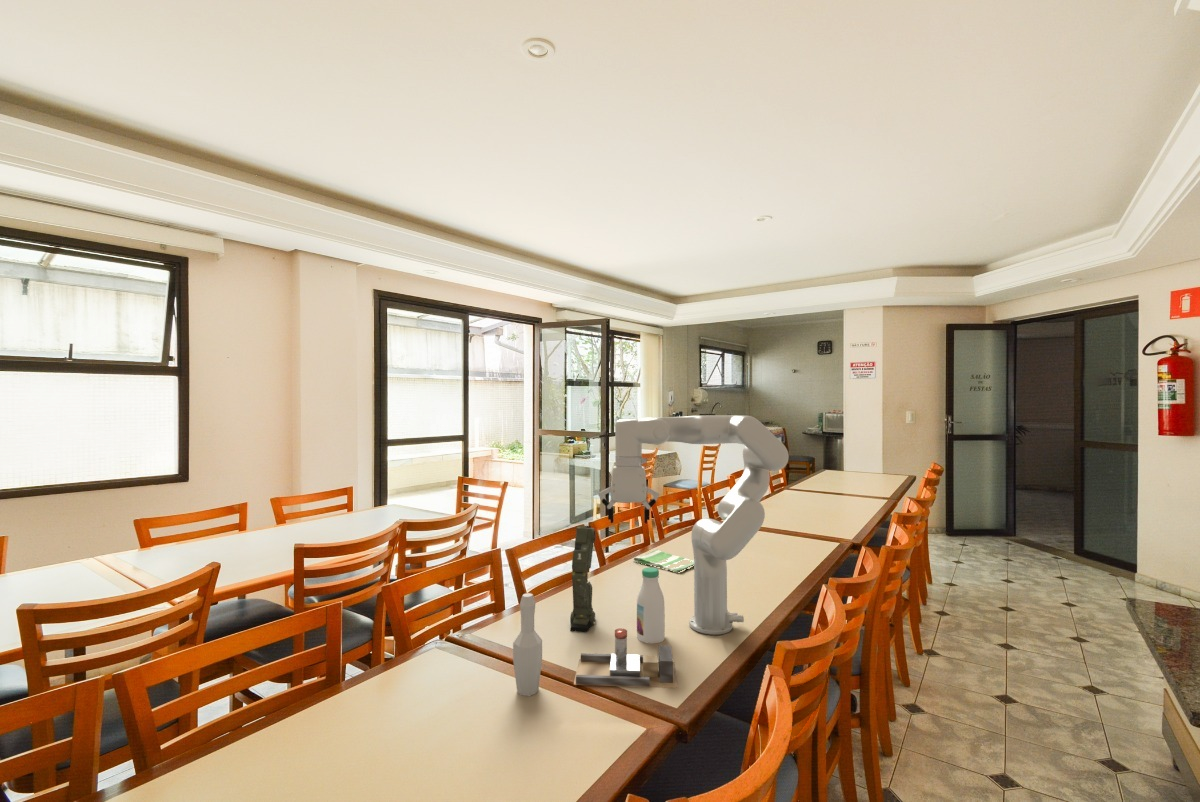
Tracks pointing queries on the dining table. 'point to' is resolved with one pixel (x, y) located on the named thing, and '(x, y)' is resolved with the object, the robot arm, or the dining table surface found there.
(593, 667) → the press board
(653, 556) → the dish towel
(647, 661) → the nut block
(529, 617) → the faceted bottle
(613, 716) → the dining table surface
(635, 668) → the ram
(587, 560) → the mechanical leg
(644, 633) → the milk bottle
